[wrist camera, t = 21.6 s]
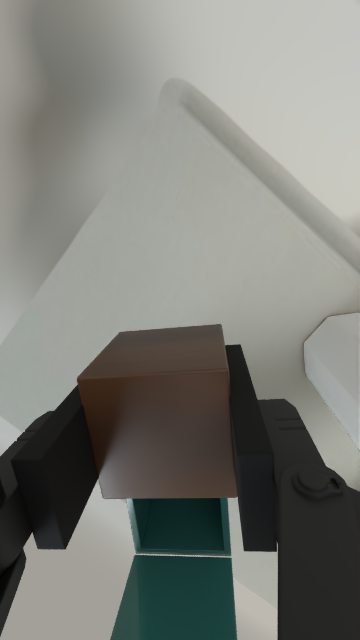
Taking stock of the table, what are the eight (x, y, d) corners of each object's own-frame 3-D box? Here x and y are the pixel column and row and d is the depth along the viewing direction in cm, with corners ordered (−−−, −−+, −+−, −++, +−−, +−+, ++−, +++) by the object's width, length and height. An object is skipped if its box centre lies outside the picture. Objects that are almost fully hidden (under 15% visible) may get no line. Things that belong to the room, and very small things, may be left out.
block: (119, 331, 13) (75, 377, 9) (221, 323, 12) (228, 368, 8) (134, 420, 14) (102, 500, 10) (228, 416, 14) (238, 498, 9)
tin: (139, 410, 42) (119, 461, 32) (221, 408, 40) (224, 460, 31) (150, 488, 45) (135, 553, 36) (226, 488, 44) (231, 556, 34)
